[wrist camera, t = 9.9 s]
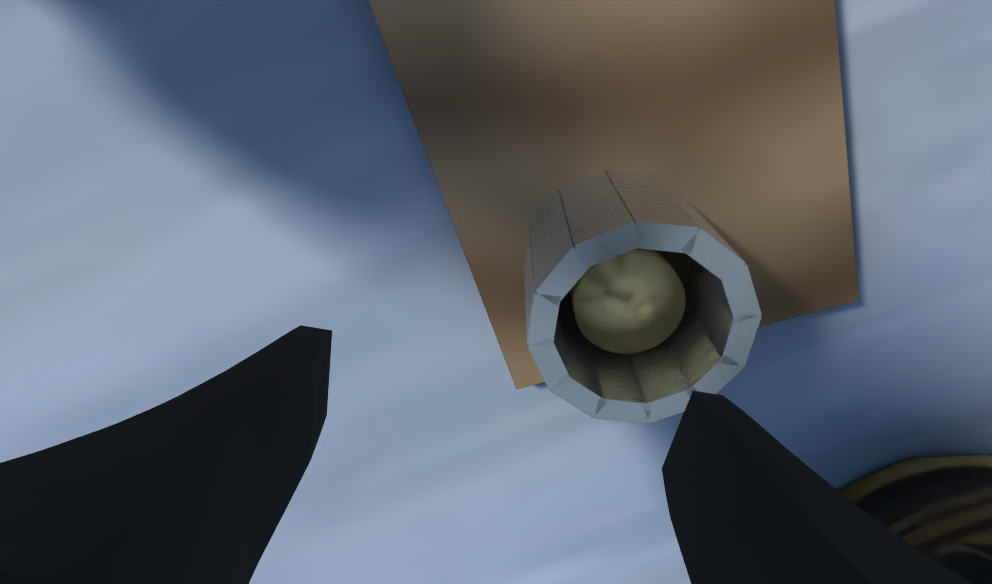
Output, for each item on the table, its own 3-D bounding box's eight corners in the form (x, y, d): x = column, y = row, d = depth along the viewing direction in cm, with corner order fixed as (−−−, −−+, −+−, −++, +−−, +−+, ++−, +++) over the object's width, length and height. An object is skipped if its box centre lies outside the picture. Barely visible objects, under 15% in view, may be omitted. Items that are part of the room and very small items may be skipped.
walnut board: (288, -231, 15) (274, -248, 14) (775, -460, 13) (796, -497, 12) (516, 374, 22) (516, 389, 21) (843, 287, 20) (858, 300, 19)
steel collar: (537, 162, 18) (545, 211, 13) (718, 180, 18) (788, 236, 13) (517, 322, 20) (517, 411, 16) (676, 338, 20) (723, 430, 16)
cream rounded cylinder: (553, 230, 19) (561, 274, 15) (645, 202, 18) (673, 241, 15) (577, 309, 20) (589, 364, 17) (665, 285, 19) (694, 337, 16)
